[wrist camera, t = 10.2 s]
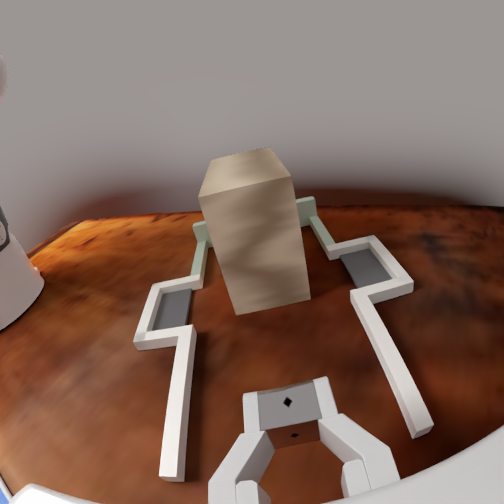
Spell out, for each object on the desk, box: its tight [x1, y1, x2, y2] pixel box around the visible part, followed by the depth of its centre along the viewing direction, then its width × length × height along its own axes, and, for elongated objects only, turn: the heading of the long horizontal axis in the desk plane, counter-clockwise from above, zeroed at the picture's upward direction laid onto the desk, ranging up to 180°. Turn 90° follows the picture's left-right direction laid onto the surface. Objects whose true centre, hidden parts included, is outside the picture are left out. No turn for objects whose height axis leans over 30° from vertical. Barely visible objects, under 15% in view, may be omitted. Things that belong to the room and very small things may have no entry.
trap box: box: [133, 196, 434, 482], centre depth 22 cm, size 22×27×3 cm
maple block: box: [198, 147, 311, 315], centre depth 26 cm, size 6×12×10 cm, turn 3°
